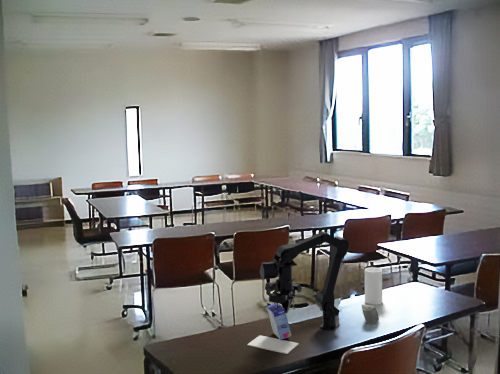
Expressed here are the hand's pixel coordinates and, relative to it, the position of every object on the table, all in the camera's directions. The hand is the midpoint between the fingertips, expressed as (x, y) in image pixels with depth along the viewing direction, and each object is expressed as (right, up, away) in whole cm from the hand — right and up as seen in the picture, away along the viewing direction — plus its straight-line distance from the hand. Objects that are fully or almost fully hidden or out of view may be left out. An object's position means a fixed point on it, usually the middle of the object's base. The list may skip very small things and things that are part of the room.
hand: (286, 312), depth 223 cm
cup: (+45, -3, +35) cm, 57 cm away
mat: (-6, -11, -9) cm, 15 cm away
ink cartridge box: (-1, -9, -2) cm, 9 cm away
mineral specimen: (+37, -7, +10) cm, 39 cm away
